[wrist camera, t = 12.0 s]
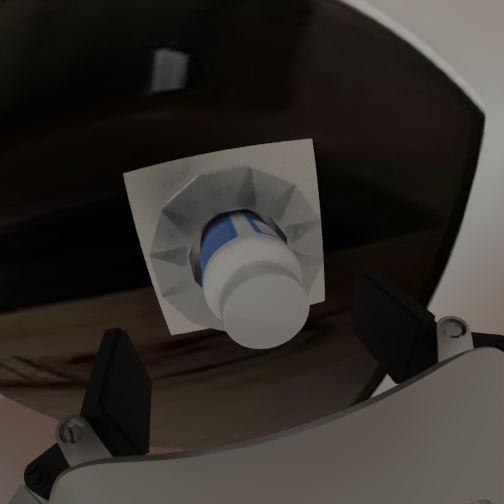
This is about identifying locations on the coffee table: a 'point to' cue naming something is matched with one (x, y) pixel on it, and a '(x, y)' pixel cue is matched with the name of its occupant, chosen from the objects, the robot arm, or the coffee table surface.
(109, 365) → the robot arm
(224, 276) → the pill bottle
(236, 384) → the coffee table surface
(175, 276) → the ring socket
